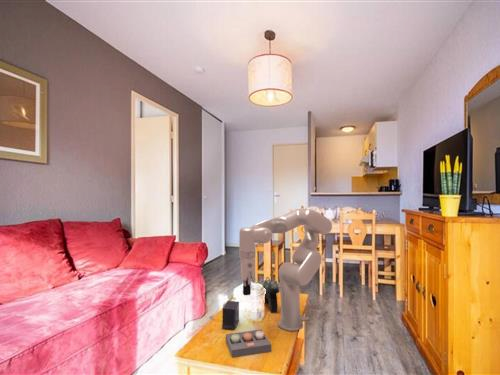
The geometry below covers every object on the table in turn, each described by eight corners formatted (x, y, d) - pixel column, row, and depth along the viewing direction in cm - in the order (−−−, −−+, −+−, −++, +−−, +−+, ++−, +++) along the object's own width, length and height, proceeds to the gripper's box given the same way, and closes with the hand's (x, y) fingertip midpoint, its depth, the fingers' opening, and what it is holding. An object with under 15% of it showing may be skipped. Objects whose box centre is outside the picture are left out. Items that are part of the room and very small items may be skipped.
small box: (234, 330, 138) (234, 308, 138) (221, 329, 139) (221, 307, 139) (239, 321, 148) (239, 301, 148) (227, 320, 149) (227, 300, 150)
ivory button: (262, 336, 127) (262, 330, 127) (264, 339, 123) (264, 334, 123) (254, 337, 126) (254, 331, 126) (256, 341, 122) (256, 335, 123)
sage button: (238, 339, 124) (238, 333, 124) (240, 343, 120) (240, 337, 121) (230, 340, 123) (230, 334, 123) (232, 344, 120) (232, 338, 120)
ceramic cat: (280, 313, 157) (279, 277, 158) (269, 314, 156) (268, 278, 157) (269, 301, 177) (269, 269, 178) (259, 302, 175) (259, 269, 176)
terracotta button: (250, 337, 125) (250, 332, 125) (252, 341, 122) (252, 335, 122) (242, 338, 124) (242, 333, 125) (244, 342, 121) (244, 336, 121)
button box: (261, 335, 132) (261, 328, 132) (271, 351, 119) (271, 343, 119) (225, 340, 128) (225, 333, 128) (231, 357, 114) (231, 349, 114)
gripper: (259, 257, 124) (259, 299, 123) (251, 251, 139) (250, 289, 138) (242, 258, 122) (242, 300, 122) (236, 251, 137) (235, 290, 136)
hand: (246, 294), depth 130 cm, fingers closed
